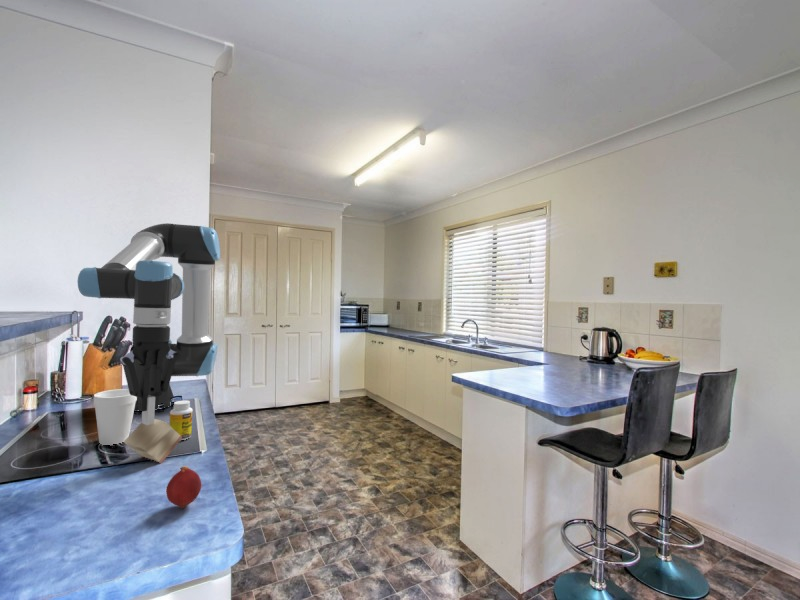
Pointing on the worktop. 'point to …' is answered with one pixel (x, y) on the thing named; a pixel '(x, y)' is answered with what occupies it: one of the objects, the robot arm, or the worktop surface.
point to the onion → (183, 487)
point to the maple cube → (153, 440)
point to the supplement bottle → (182, 419)
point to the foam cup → (114, 415)
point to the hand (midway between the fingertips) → (147, 423)
